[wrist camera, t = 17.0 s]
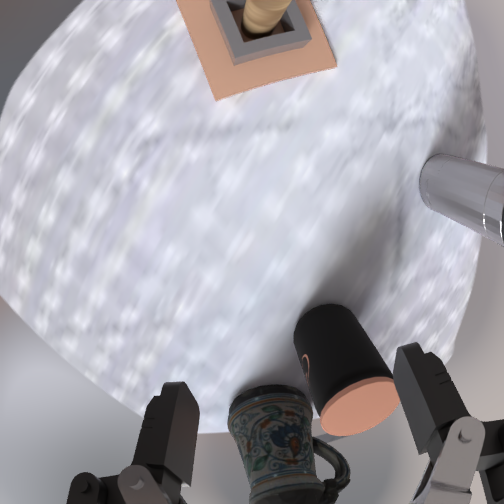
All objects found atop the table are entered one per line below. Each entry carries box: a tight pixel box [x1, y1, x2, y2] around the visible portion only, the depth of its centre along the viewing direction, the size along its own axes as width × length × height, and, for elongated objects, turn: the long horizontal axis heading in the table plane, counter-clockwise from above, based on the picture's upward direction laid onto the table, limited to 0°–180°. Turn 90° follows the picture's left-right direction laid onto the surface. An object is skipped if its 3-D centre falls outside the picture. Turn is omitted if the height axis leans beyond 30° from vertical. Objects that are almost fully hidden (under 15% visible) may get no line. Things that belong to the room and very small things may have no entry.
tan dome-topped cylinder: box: [241, 0, 292, 40], centre depth 24 cm, size 4×4×12 cm
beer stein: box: [227, 385, 350, 504], centre depth 43 cm, size 16×19×25 cm
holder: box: [176, 0, 337, 101], centre depth 28 cm, size 16×16×5 cm
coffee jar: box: [294, 304, 400, 436], centre depth 39 cm, size 11×11×18 cm
